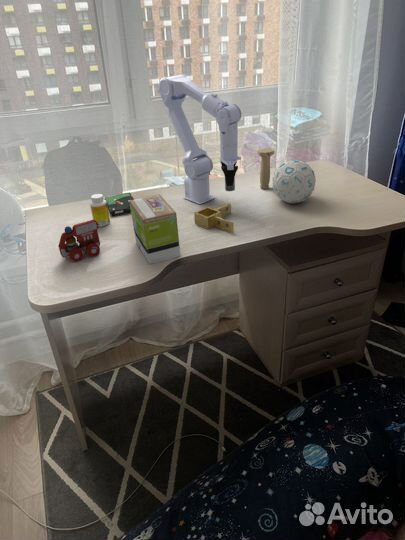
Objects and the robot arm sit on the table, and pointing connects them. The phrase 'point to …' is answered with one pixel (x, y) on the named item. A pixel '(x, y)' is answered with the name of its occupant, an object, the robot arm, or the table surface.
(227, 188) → the pin
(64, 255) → the toy fire truck
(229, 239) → the table surface
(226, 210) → the gold square socket frame
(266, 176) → the handle
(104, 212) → the supplement bottle
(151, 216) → the tea box
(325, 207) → the table surface
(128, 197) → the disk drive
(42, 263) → the table surface
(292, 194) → the puzzle ball
